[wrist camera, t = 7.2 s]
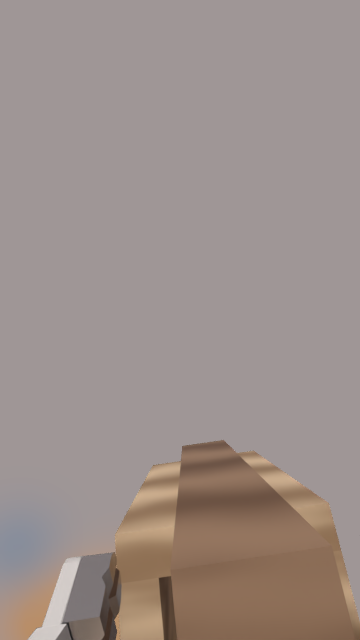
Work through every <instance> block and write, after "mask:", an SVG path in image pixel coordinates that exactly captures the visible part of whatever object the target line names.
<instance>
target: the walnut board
mask: <svg viewBox="0 0 360 640" xmlns="http://www.w3.org/2000/svg"><path fill="white" fill-rule="evenodd" d="M170 572H171V582H172V592H173V602H174V612H175V622H176V633H177V640H356V639H355V635H354V631H353V627H352V624H351V620H350V616H349V612H348V608H347V604H346V600H345V596H344V592H343V588H342V584H341V580H340V576H339V572H338V568H337V564H336V560H335V556H334V553H333V549H332V545H331V544H330V543H329V542H327V541H326V540H325V539H324V538H323V537H322V536H321V535H320V534H319V533H318V532H317V531H316V530H315V529H314V528H313V527H312V526H311V525H310V524H309V523H308V522H307V521H306V520H305V519H304V518H303V517H302V516H301V515H300V514H299V513H298V512H297V511H296V510H295V509H294V508H293V507H292V506H291V505H290V504H289V503H288V502H286V501H285V500H284V499H283V498H282V497H281V496H280V495H279V494H278V493H277V492H276V491H275V490H274V489H273V488H272V487H271V486H270V485H269V484H268V483H267V482H266V481H265V480H264V479H263V478H262V477H261V476H260V475H259V474H258V473H257V472H256V471H255V470H254V469H253V468H252V467H251V466H250V465H249V464H248V463H247V462H245V461H244V460H243V459H242V458H241V457H240V456H239V455H238V454H237V453H236V452H235V451H234V450H233V449H232V448H231V447H230V446H229V445H228V444H227V443H226V442H225V441H224V440H221V441H214V442H208V443H200V444H193V445H186V446H182V457H181V466H180V476H179V487H178V497H177V507H176V517H175V527H174V538H173V548H172V558H171V568H170Z"/></svg>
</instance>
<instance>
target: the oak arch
mask: <svg viewBox="0 0 360 640" xmlns="http://www.w3.org/2000/svg"><path fill="white" fill-rule="evenodd" d="M237 454H238V455H239V456H240V457H241V458H242V459H243V460H244V461H245V462H247V463H248V464H249V465H250V466H251V467H252V468H253V469H254V470H255V471H256V472H257V473H258V474H259V475H260V476H261V477H262V478H263V479H264V480H265V481H266V482H267V483H268V484H269V485H270V486H271V487H272V488H273V489H274V490H275V491H276V492H277V493H278V494H279V495H280V496H281V497H282V498H283V499H284V500H285V501H286V502H288V503H289V504H290V505H291V506H292V507H293V508H294V509H295V510H296V511H297V512H298V513H299V514H300V515H301V516H302V517H303V518H304V519H305V520H306V521H307V522H308V523H309V524H310V525H311V526H312V527H313V528H314V529H315V530H316V531H317V532H318V533H319V534H320V535H321V536H322V537H323V538H324V539H325V540H326V541H327V542H329V543H330V544H331V545H332V549H333V553H334V556H335V560H336V564H337V568H338V572H339V576H340V580H341V584H342V588H343V592H344V596H345V600H346V604H347V608H348V612H349V616H350V620H351V624H352V627H353V631H354V635H355V639H356V640H360V621H359V617H358V613H357V609H356V606H355V602H354V598H353V594H352V590H351V586H350V583H349V579H348V575H347V571H346V567H345V563H344V560H343V556H342V552H341V548H340V545H339V541H338V537H337V533H336V529H335V525H334V521H333V517H332V514H331V510H330V507H329V503H328V502H326V501H325V500H323V499H322V498H321V497H319V496H317V495H316V494H315V493H313V492H312V491H311V490H309V489H307V488H306V487H305V486H303V485H302V484H301V483H299V482H298V481H296V480H295V479H293V478H292V477H290V476H289V475H288V474H286V473H285V472H283V471H282V470H280V469H279V468H278V467H276V466H275V465H273V464H272V463H270V462H269V461H268V460H266V459H265V458H263V457H262V456H260V455H259V454H257V453H256V452H255V451H249V452H242V453H237ZM180 466H181V461H179V462H172V463H166V464H158V465H153V466H152V468H151V470H150V472H149V474H148V475H147V477H146V479H145V481H144V483H143V485H142V487H141V488H140V490H139V492H138V494H137V496H136V497H135V499H134V501H133V503H132V505H131V507H130V508H129V510H128V512H127V514H126V516H125V517H124V520H123V521H122V523H121V525H120V527H119V528H118V530H117V532H116V534H115V545H116V558H117V564H116V565H117V569H118V570H119V571H120V575H121V584H122V588H121V604H120V611H119V626H120V640H177V633H176V622H175V612H174V602H173V592H172V582H171V572H170V568H171V558H172V548H173V538H174V527H175V517H176V507H177V497H178V487H179V476H180Z"/></svg>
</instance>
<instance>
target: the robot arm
mask: <svg viewBox="0 0 360 640" xmlns="http://www.w3.org/2000/svg"><path fill="white" fill-rule="evenodd" d="M116 564H117V558H116V554H115V552H113V553H105V554H97V555H90V556H80V557H74V558H68V559H66V561H65V563H64V564H63V567H62V570H61V572H60V575H59V578H58V581H57V584H56V587H55V590H54V593H53V596H52V599H51V602H50V604H49V607H48V610H47V613H46V616H45V619H44V622H43V625H42V627H39V628H36V629H35V631H34V632H33V633H32V635H31V636H30V637H29V639H28V640H116V634H117V629H116V625H115V621H114V619H115V618H116V616H117V614H118V613H119V611H120V604H121V588H122V584H121V575H120V571H119V570H118V569H117V568H116Z"/></svg>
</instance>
